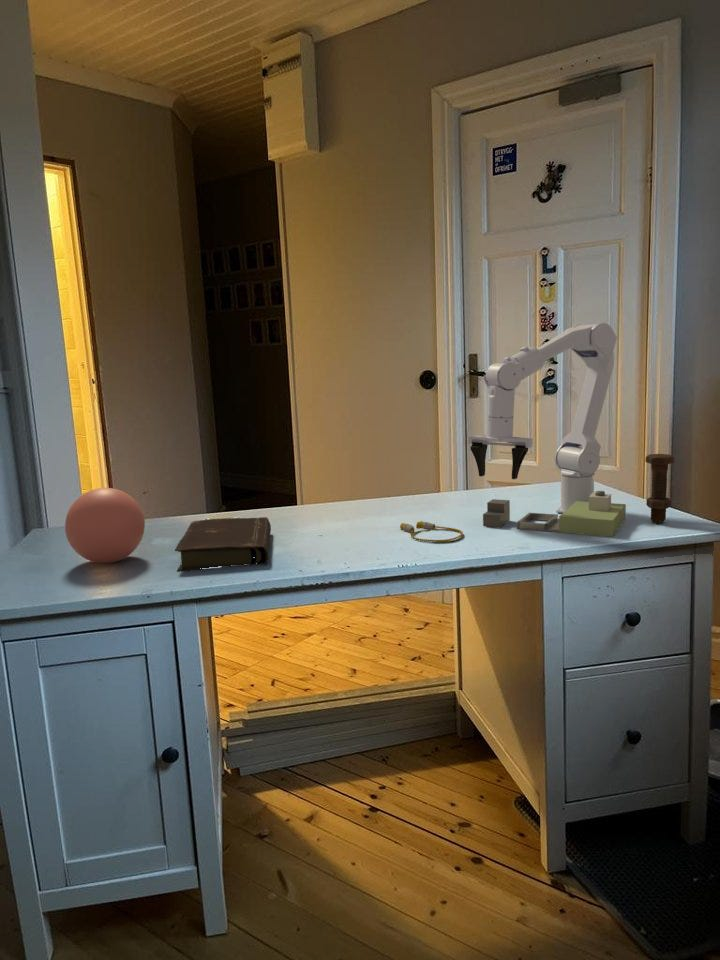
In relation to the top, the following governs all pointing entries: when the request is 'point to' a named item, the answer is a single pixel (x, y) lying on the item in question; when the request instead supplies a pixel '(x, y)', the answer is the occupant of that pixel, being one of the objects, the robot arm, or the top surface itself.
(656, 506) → the bolt
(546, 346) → the robot arm
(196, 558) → the diary
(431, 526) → the extension cord
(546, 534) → the top surface
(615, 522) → the deck
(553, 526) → the grey rectangular frame
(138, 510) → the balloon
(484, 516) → the stepped block
